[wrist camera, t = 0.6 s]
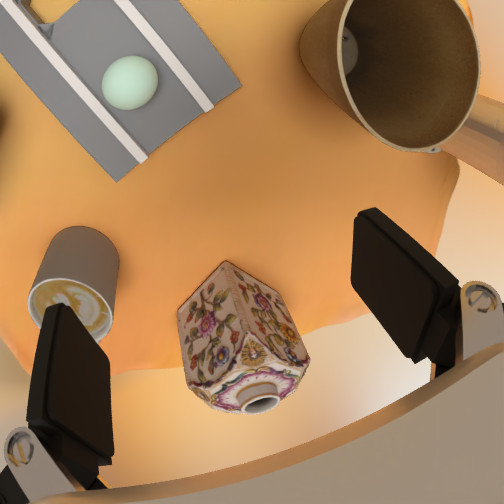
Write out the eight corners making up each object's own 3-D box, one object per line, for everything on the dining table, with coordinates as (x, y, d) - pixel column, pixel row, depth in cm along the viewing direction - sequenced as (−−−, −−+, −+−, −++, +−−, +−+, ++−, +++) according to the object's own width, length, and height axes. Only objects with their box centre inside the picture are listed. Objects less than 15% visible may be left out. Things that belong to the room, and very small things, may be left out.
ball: (138, 45, 23) (133, 42, 19) (169, 83, 26) (169, 87, 22) (97, 80, 24) (84, 84, 20) (128, 116, 27) (121, 126, 23)
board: (236, 83, 30) (244, 86, 27) (119, 174, 32) (115, 186, 29) (93, -85, 13) (87, -97, 10) (-20, 15, 15) (-35, 13, 13)
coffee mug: (43, 225, 32) (17, 276, 25) (117, 226, 36) (108, 279, 28) (59, 306, 39) (46, 360, 32) (122, 308, 43) (120, 363, 35)
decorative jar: (225, 256, 42) (262, 368, 28) (281, 291, 49) (328, 388, 34) (173, 311, 45) (188, 421, 31) (230, 337, 52) (259, 433, 38)
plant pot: (294, -29, 23) (382, -68, 11) (394, 33, 29) (496, 47, 17) (242, 81, 30) (303, 100, 17) (350, 129, 36) (440, 179, 23)
